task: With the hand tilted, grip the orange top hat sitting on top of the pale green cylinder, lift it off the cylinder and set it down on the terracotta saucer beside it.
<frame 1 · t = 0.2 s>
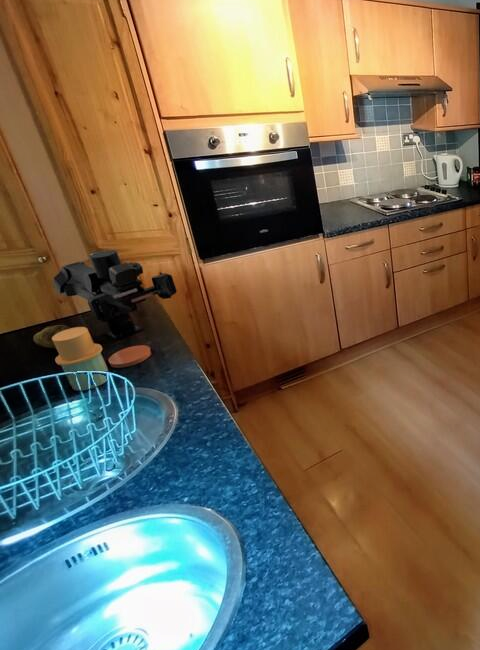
hand: (151, 302, 118), 17 cm above the worktop, tool horizontal, fingers open, 9 cm apart
orange top hat: (82, 360, 112), point 6 cm above the worktop, touching pale green cylinder
pale green cylinder: (91, 381, 114), on the worktop
potato: (60, 349, 128), on the worktop
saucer: (131, 358, 124), on the worktop
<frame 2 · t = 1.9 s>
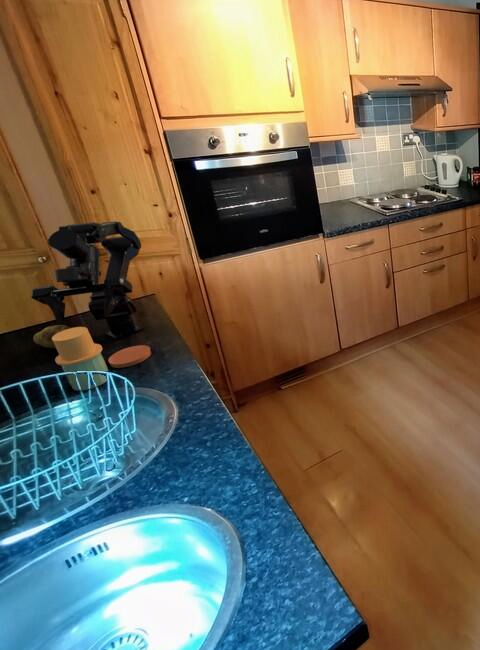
hand: (83, 321, 115), 14 cm above the worktop, tool tilted 45°, fingers open, 9 cm apart
nothing on the worktop moved.
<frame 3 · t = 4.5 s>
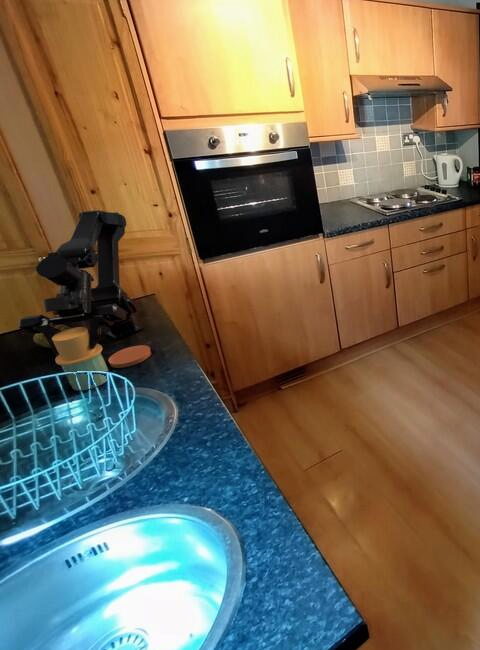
hand: (74, 351, 109), 10 cm above the worktop, tool tilted 45°, fingers closed on orange top hat, 6 cm apart
orange top hat: (82, 360, 112), point 7 cm above the worktop, touching pale green cylinder, gripper
everything else where it was.
when the fingers open (4 cm above the worktop, at t = 11.3 s): orange top hat stays where it is, resting on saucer.
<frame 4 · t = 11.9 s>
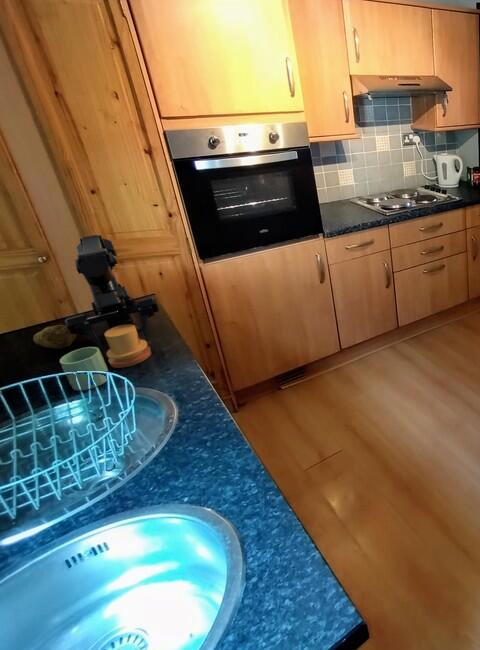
hand: (124, 342, 120), 6 cm above the worktop, tool tilted 45°, fingers open, 9 cm apart
orange top hat: (129, 354, 123), point 1 cm above the worktop, touching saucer
everything else where it was.
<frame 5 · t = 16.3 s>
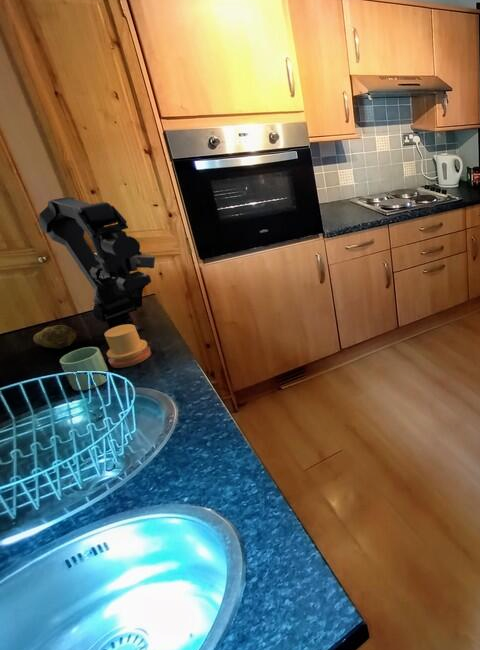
hand: (130, 303, 125), 13 cm above the worktop, tool pointing down, fingers open, 9 cm apart
nothing on the worktop moved.
at the end: orange top hat 0.0 cm off-centre on the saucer, point 1.2 cm above the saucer's base; orange top hat tilted 0°; the gripper is holding nothing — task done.
